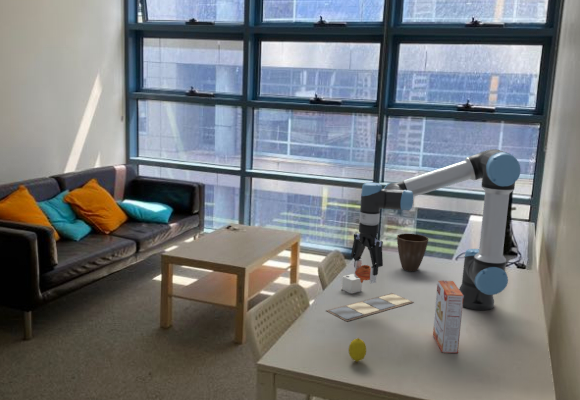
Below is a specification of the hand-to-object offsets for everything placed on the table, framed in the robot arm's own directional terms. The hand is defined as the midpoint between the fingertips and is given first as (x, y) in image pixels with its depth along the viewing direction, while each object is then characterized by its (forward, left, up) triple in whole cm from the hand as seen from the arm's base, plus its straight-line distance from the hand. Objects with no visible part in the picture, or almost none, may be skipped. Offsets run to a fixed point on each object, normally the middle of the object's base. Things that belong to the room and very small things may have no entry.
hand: (365, 279), depth 224 cm
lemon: (-31, +32, -13) cm, 47 cm away
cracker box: (-38, -3, -13) cm, 40 cm away
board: (0, -5, -12) cm, 13 cm away
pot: (0, 0, -1) cm, 1 cm away
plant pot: (+25, -56, -13) cm, 62 cm away
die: (+18, -11, -12) cm, 24 cm away
